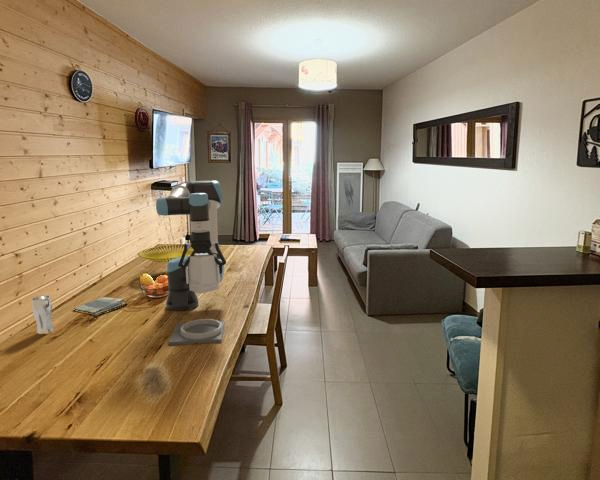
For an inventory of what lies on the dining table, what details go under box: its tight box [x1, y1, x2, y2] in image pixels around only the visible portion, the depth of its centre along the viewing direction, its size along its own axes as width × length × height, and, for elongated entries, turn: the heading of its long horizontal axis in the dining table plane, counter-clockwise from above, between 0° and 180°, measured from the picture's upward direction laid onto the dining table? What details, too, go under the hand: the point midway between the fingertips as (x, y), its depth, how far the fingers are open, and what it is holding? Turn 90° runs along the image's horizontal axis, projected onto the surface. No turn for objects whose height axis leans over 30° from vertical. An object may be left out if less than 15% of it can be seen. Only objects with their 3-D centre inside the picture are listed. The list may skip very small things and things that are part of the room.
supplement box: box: [187, 253, 220, 295], centre depth 183 cm, size 9×9×15 cm
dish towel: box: [73, 296, 128, 316], centre depth 212 cm, size 19×18×3 cm
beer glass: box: [31, 294, 55, 334], centre depth 182 cm, size 7×7×15 cm
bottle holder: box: [168, 318, 226, 346], centre depth 179 cm, size 20×19×3 cm
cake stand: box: [137, 243, 198, 276], centre depth 267 cm, size 40×40×15 cm
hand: (203, 282), depth 184 cm, fingers closed on supplement box, 12 cm apart
